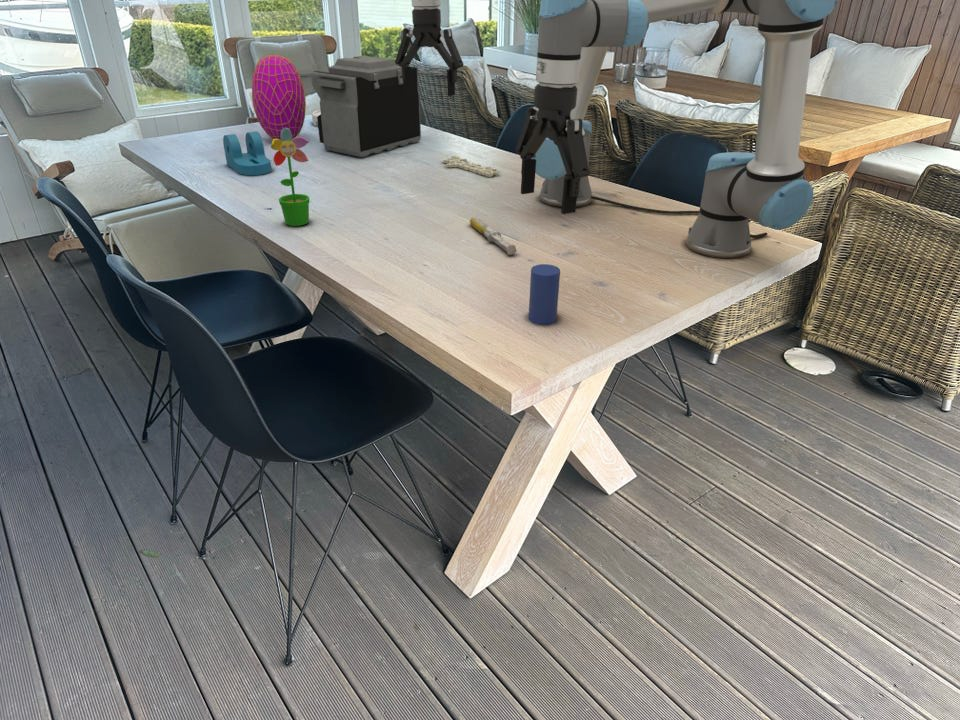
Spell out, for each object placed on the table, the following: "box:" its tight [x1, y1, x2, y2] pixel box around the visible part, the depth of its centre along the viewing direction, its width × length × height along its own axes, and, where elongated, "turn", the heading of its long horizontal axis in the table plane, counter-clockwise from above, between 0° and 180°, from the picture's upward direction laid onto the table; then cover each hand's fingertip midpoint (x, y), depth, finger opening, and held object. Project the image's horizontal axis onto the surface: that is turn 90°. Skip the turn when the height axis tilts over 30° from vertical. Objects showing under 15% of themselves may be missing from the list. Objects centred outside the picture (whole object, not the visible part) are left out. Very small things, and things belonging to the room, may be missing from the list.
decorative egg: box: [251, 54, 307, 141], centre depth 257 cm, size 19×19×30 cm
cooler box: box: [310, 55, 422, 159], centre depth 250 cm, size 37×22×30 cm, turn 144°
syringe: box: [469, 216, 518, 256], centre depth 174 cm, size 25×4×3 cm, turn 21°
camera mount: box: [222, 131, 272, 176], centre depth 226 cm, size 18×10×10 cm, turn 35°
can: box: [528, 263, 561, 326], centre depth 134 cm, size 6×6×10 cm
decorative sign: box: [442, 155, 499, 178], centre depth 232 cm, size 26×1×10 cm
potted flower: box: [270, 128, 310, 227], centre depth 177 cm, size 9×8×25 cm
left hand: (430, 93), depth 191 cm, fingers open, 13 cm apart
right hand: (546, 202), depth 131 cm, fingers open, 13 cm apart
